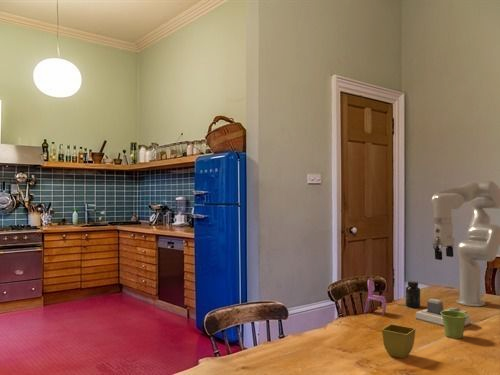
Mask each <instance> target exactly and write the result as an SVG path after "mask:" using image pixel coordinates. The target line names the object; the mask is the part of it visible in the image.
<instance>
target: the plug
mask: <svg viewBox="0 0 500 375" xmlns="http://www.w3.org/2000/svg"><path fill="white" fill-rule="evenodd" d="M426 309H427V312H429V313H433V314H437V315H441V314H440V312H442V310H444V303H443V302H442V300H441V299H436V298H429V299H428V301H427V302H426Z"/></svg>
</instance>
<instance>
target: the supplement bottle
mask: <svg viewBox="0 0 500 375" xmlns="http://www.w3.org/2000/svg"><path fill="white" fill-rule="evenodd" d="M405 306H406V307H407V308H413V309H419V308H421V288H420V287H419V282H418V281H416V280H409V281H407V286H406V288H405Z"/></svg>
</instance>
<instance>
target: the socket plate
mask: <svg viewBox="0 0 500 375" xmlns="http://www.w3.org/2000/svg"><path fill="white" fill-rule="evenodd" d="M415 319H416V320H419V321H422V322H426V323H430V324H434V325H439V326H441V327H444V323H443V318H442V315H437V314H433V313H429V312H427V308H426V309H421V310H419V311H415ZM471 320H472V319H471V316H469V315H467V318H466V320H465V324H464V327H466V326H468V325H469V326H470V325H471V322H472V321H471Z"/></svg>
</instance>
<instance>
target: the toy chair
mask: <svg viewBox="0 0 500 375" xmlns="http://www.w3.org/2000/svg"><path fill="white" fill-rule="evenodd" d="M375 289H376V288H375V282H374V281H373V280H372V279H367V291H368V297H367V298H366V300H365V301H366V302H365V308H364V312H363V314H365V313H366V312H368V311H369V309H370V302H371V301H377V302H381V305H382V310H381V311H382V312H381V315H382V316H383V315H384V314H386V311H387V299H386V296H385V295H375V294H374V293H373V292H374V291H375Z"/></svg>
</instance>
